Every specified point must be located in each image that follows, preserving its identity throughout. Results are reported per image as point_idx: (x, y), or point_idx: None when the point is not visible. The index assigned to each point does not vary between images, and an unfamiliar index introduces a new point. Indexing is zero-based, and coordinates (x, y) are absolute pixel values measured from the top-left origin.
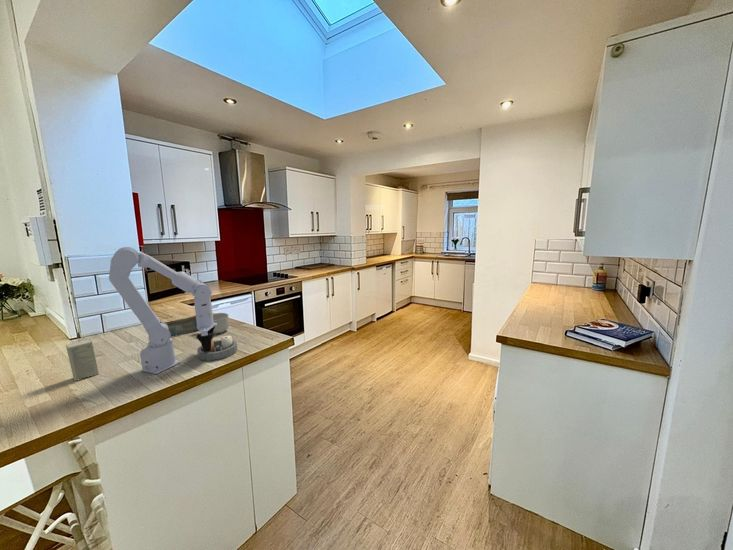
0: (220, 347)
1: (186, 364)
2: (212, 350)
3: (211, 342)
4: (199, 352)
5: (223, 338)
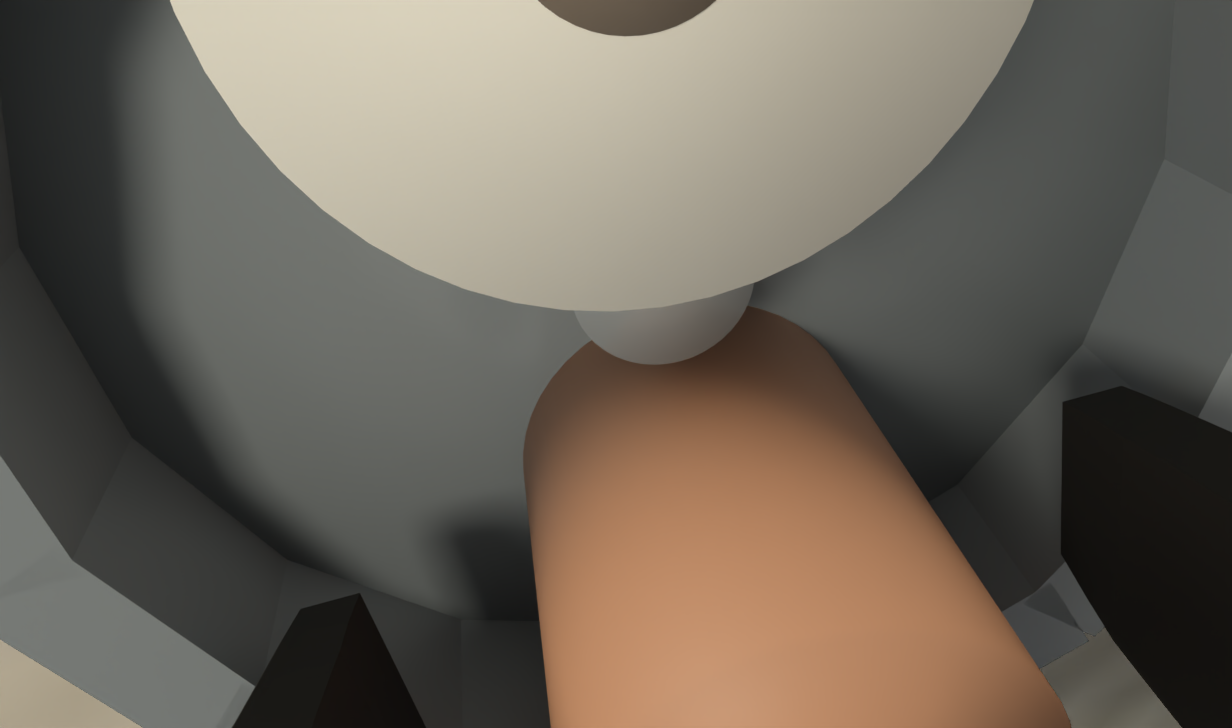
0: (288, 222)
1: (1107, 663)
2: (808, 366)
3: (953, 587)
4: (1067, 651)
5: (834, 68)
